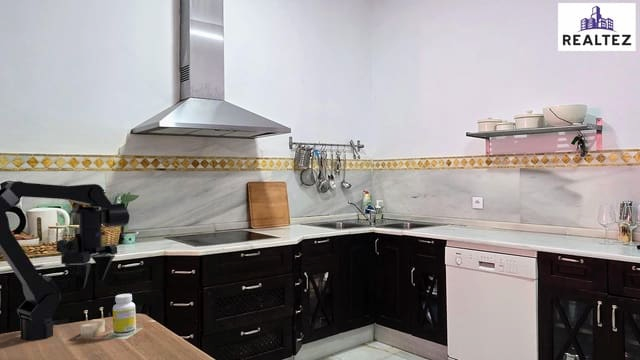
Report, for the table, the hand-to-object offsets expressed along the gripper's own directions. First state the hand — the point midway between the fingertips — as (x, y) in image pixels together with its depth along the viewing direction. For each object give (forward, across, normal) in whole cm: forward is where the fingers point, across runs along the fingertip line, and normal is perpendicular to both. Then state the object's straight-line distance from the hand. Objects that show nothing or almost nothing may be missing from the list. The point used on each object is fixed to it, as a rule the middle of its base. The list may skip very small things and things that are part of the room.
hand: (91, 284), depth 134 cm
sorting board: (+12, +9, +10) cm, 18 cm away
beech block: (+11, +10, +6) cm, 16 cm away
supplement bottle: (+11, +9, +14) cm, 20 cm away
